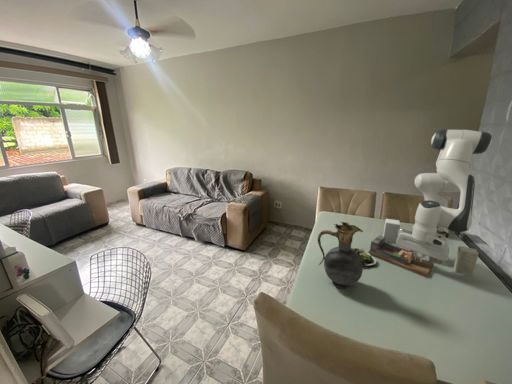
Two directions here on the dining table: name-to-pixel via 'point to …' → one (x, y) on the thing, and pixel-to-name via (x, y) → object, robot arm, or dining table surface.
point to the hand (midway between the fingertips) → (418, 260)
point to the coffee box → (442, 235)
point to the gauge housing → (398, 257)
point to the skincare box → (465, 260)
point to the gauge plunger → (406, 255)
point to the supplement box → (391, 230)
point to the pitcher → (342, 257)
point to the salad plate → (365, 258)
